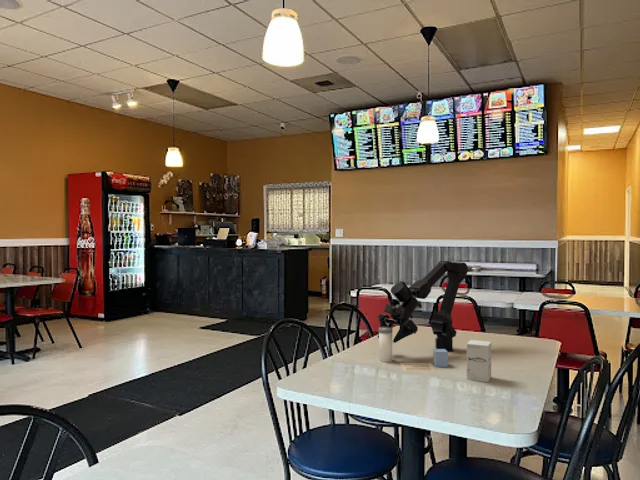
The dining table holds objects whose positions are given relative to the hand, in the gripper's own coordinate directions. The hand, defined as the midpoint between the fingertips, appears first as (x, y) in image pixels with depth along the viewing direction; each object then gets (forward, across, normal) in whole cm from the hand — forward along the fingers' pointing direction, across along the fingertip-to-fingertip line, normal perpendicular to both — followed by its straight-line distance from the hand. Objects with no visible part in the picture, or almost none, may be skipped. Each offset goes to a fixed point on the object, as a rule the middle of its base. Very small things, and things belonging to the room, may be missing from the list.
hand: (385, 340), depth 193 cm
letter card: (+4, +14, +8) cm, 17 cm away
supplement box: (-2, +36, +14) cm, 39 cm away
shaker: (+6, 0, +6) cm, 8 cm away
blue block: (-3, +17, +14) cm, 23 cm away
